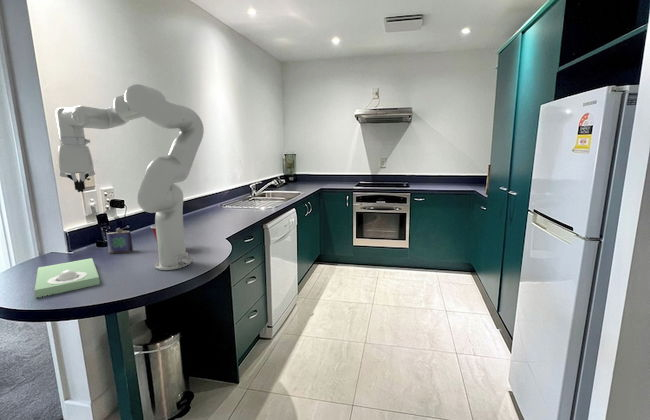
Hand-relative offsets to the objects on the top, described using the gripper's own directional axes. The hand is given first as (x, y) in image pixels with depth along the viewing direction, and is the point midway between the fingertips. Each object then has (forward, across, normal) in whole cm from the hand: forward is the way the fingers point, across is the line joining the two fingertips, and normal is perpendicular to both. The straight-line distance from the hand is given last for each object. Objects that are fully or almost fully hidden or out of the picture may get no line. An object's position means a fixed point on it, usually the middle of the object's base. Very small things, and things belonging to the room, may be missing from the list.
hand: (80, 191), depth 124 cm
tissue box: (+29, +8, +15) cm, 33 cm away
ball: (+26, +8, +22) cm, 35 cm away
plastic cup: (+29, -27, +2) cm, 40 cm away
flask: (+29, -12, -10) cm, 33 cm away
